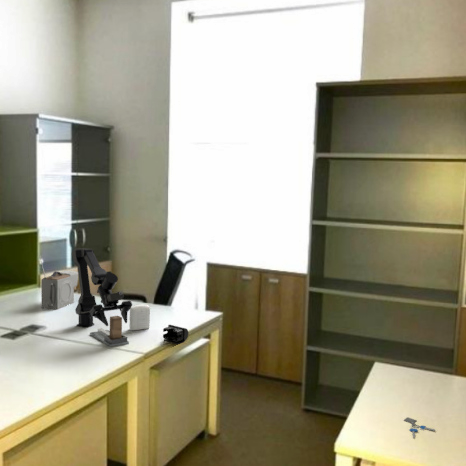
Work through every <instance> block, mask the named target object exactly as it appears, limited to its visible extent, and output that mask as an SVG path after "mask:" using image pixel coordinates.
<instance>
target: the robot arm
mask: <svg viewBox="0 0 466 466" xmlns="http://www.w3.org/2000/svg"><path fill="white" fill-rule="evenodd" d="M71 258H72V261H73V262H74V264H75V265H76V266H77V272H78V281H79V282H78V283H79V292H80V295H79V297H78V301H77V306H76V307H75V309H74V310H75V314H76V315H78V323H77V324H76V327H82V328H89V327H91V326H94V325H95V323H94V318H97V320H99V321H101V323H102V324H103V325H105V326H106V327H108V326H109V322H108V320H107V318H106V317H107V316H106V314H105V312H108V311H110V312H111V311H117V310H119V311H120V316H121V317H122V320H123V321H124V323H125V324H127V323H128V312H130V308H131V307H132V306H133V303H132V301H131V300H123V301H122V302H121V304H119V302H120V301H121V300H122V299H124V297H125V296H124V291H123V290H121V291H120V290H119V291H117V292H113V291H112V290H113V289H114V288H115V286H116V284H117V283H118V280H119V278H118V276H117V275H116V274H115V273H113V272H112V271H111V270H110V271H106V269H104V268H102V267H101V265H100V264H99V261H98V259H97V257H96V255H95V253H94V249H92V248H87V247H83V248H73V250H72V251H71ZM88 268H89V270H90V272H91V276H89V270H88ZM90 277H91V282H92V283H93V285H94V286H98V288H97V291H96V293H97V294H99V296H100V303H101V304H97V302H96V297H95V295H93V294H92V293H91V286H90V284H91V283H90Z"/></svg>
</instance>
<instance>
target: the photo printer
mask: <svg viewBox="0 0 466 466" xmlns="http://www.w3.org/2000/svg"><path fill="white" fill-rule="evenodd" d="M150 312H151V308H150V306H149V305H148V304H142V303H141V304H136V305H132V306H131V308H130V310H129V331H139V330H146V329H149V328H150V321H151V320H150V314H151V313H150Z"/></svg>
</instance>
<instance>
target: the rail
mask: <svg viewBox="0 0 466 466" xmlns="http://www.w3.org/2000/svg"><path fill="white" fill-rule="evenodd" d="M89 335H90V336H92V337H93V338H95V339H96V340H98V341H99V342H101V343H103V344H104V345H106V346H108V347H109V348H113V347H118V346H123V345H124V346H125V345H129V344H130V341H128V336H125V335H124V334H122V338H117V339H111V338H110V329H104V328H102V327H101V328H97V331H92V332H89Z"/></svg>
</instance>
